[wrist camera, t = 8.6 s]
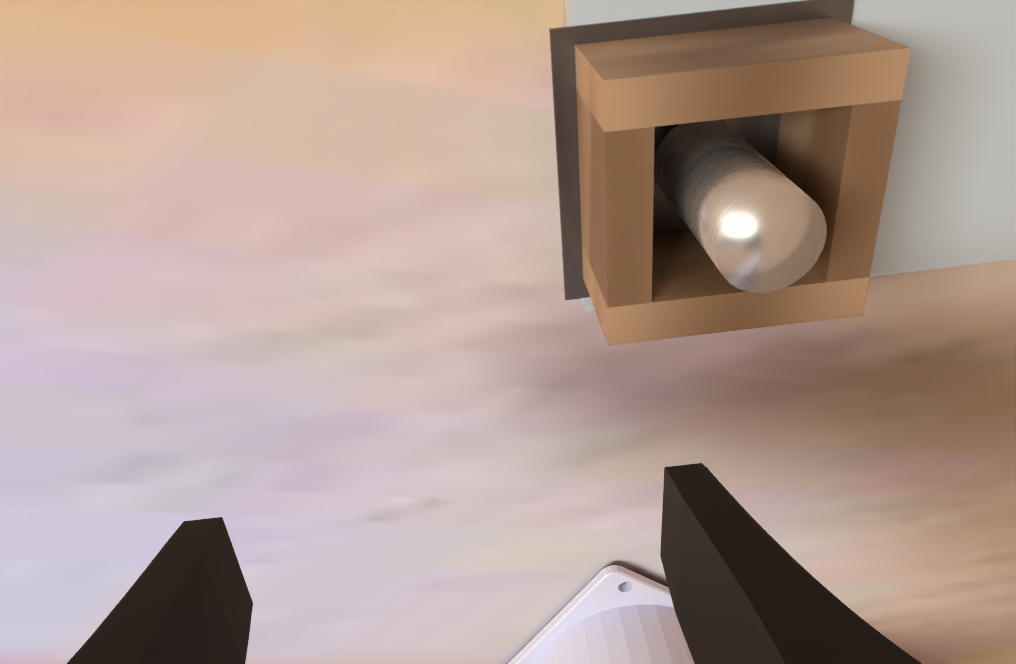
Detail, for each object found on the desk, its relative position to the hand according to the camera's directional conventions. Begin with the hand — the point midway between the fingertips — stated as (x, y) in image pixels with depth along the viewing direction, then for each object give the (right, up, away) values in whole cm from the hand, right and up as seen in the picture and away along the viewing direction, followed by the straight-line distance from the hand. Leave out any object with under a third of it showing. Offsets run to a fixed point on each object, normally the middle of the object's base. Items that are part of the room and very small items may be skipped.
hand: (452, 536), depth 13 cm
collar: (+6, +8, +7) cm, 12 cm away
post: (+6, +8, +8) cm, 12 cm away
